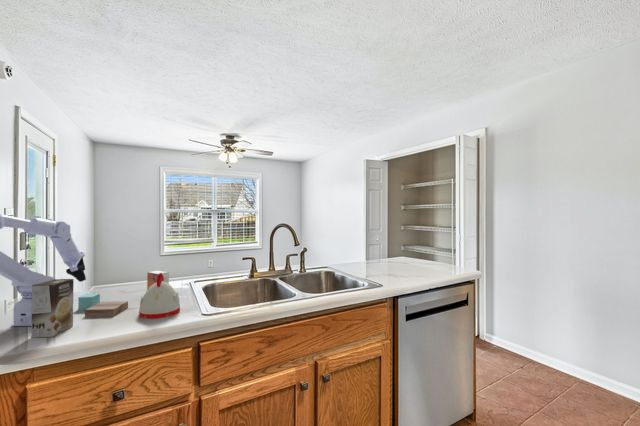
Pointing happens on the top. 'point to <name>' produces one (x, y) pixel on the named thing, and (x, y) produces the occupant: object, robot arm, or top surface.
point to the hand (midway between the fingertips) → (82, 275)
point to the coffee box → (52, 307)
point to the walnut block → (106, 309)
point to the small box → (153, 277)
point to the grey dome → (159, 300)
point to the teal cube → (88, 301)
